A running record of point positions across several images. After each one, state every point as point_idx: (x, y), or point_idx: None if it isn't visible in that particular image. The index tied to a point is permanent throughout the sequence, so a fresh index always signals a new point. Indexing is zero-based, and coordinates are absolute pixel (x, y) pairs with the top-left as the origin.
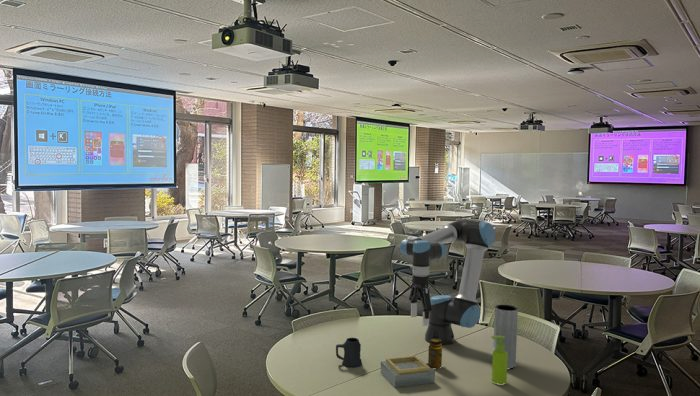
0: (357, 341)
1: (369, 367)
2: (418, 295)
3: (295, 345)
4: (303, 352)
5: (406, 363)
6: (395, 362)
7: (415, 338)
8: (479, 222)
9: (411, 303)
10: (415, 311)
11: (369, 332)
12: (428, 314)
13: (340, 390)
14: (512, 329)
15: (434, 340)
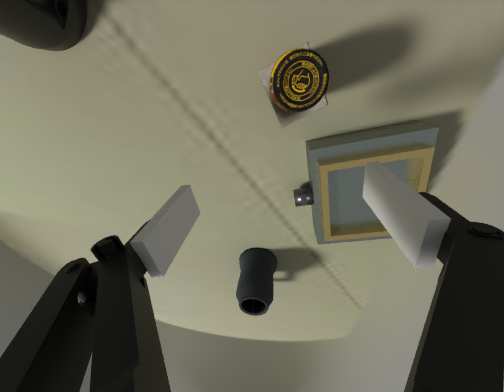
0: (263, 300)
1: (280, 239)
2: (142, 342)
3: (176, 312)
4: (205, 308)
5: (346, 193)
6: (331, 217)
7: (55, 85)
8: None
9: (159, 275)
10: (179, 210)
11: (61, 201)
12: (456, 217)
13: (372, 292)
14: None
15: (298, 88)
